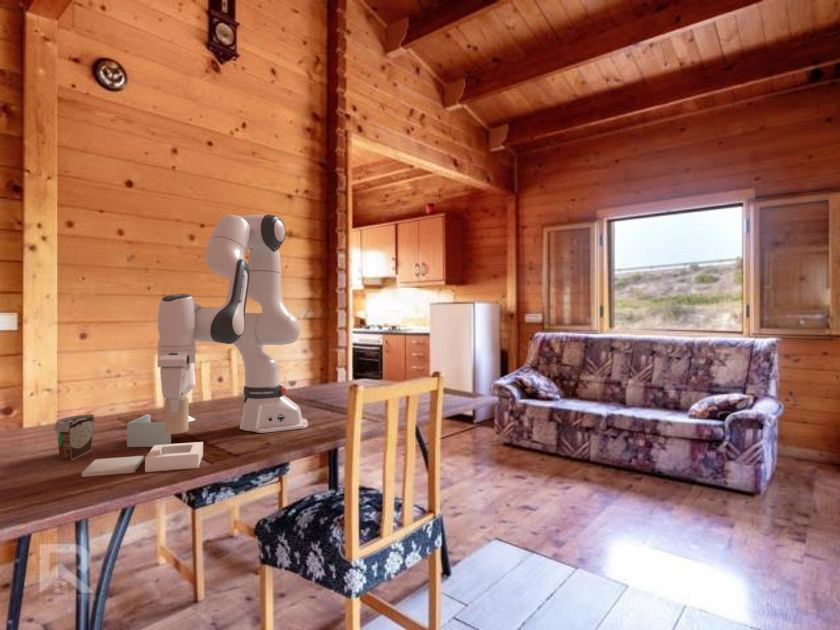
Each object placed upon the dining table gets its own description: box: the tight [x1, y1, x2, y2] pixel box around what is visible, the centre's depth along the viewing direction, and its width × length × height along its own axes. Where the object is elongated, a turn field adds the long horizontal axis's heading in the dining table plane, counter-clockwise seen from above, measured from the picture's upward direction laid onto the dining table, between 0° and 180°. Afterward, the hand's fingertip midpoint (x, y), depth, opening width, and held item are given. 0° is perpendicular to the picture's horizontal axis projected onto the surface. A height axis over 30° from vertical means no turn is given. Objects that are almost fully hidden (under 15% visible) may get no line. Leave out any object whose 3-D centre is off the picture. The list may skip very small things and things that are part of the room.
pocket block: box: [144, 441, 204, 473], centre depth 129 cm, size 12×12×4 cm
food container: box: [53, 414, 96, 462], centre depth 134 cm, size 12×6×10 cm, turn 5°
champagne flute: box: [184, 362, 197, 423], centre depth 178 cm, size 7×7×24 cm
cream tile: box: [81, 455, 144, 478], centre depth 125 cm, size 11×11×1 cm
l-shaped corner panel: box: [126, 413, 172, 448], centre depth 150 cm, size 12×12×8 cm
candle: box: [164, 393, 189, 435], centre depth 129 cm, size 6×6×10 cm
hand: (176, 409), depth 129 cm, fingers closed on candle, 5 cm apart
